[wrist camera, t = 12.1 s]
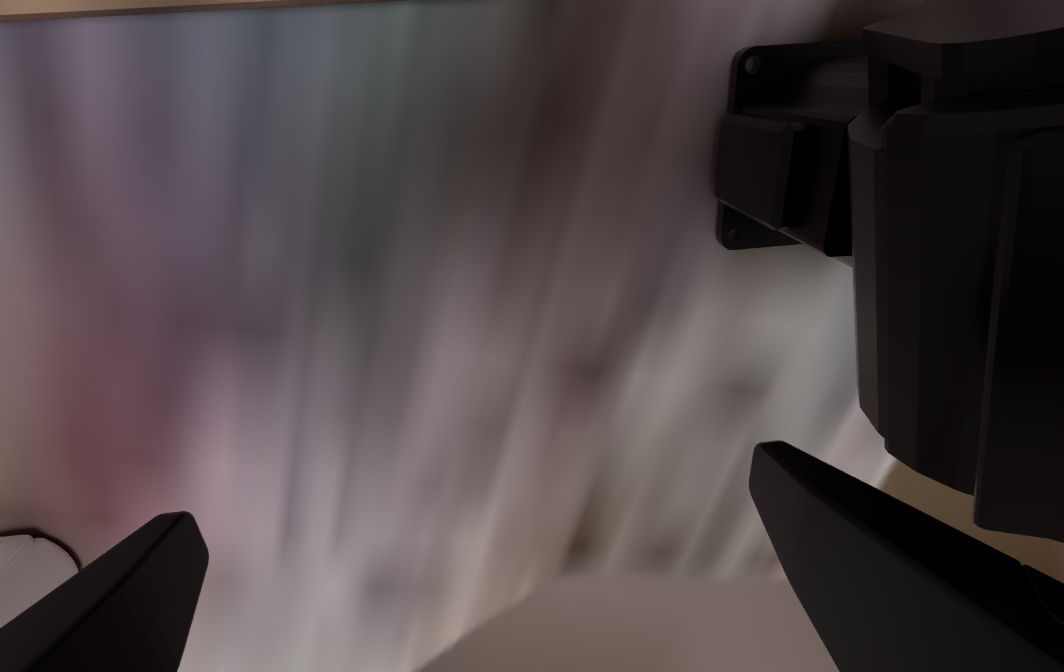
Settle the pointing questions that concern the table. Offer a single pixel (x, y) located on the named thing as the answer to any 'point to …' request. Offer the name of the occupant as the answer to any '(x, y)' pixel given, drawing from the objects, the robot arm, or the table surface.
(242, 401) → the table surface
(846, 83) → the robot arm
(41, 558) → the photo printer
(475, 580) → the table surface
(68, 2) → the base board
